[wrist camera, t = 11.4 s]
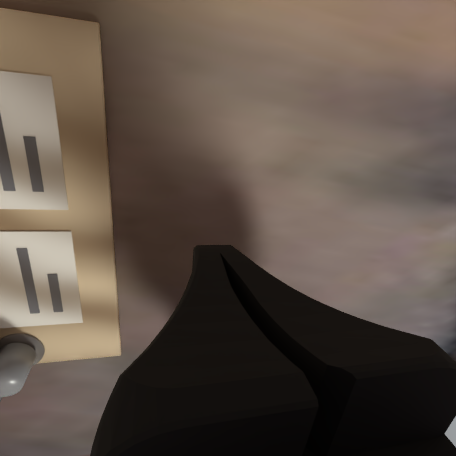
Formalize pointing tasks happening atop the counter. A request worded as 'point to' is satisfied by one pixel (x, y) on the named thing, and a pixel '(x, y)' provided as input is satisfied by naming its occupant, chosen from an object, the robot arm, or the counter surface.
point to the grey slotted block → (15, 367)
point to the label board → (55, 191)
